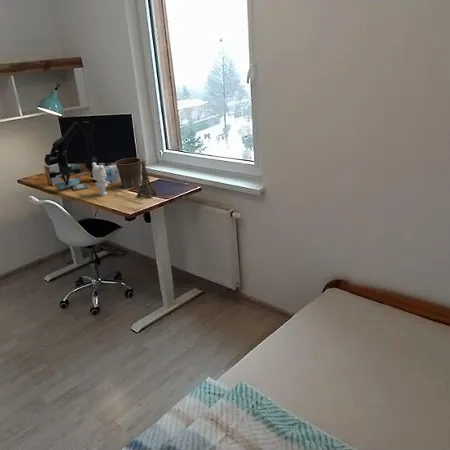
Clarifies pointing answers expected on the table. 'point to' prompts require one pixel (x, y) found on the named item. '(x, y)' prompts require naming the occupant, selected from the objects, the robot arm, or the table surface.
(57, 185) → the swing arm
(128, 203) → the table surface
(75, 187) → the label panel
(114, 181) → the light bulb box
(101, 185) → the white bear figurine
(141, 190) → the eiffel tower
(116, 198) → the table surface
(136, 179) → the plant pot
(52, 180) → the small box
